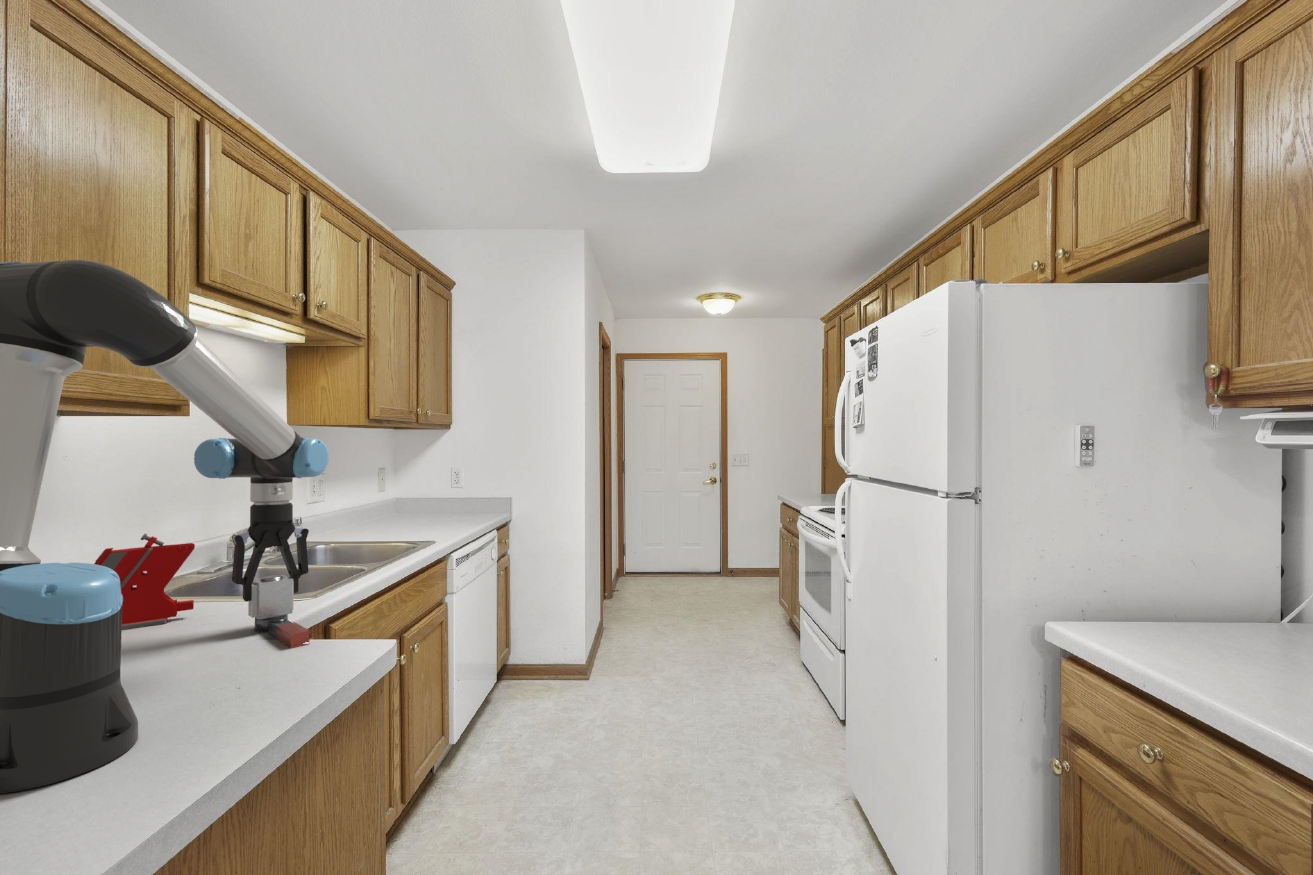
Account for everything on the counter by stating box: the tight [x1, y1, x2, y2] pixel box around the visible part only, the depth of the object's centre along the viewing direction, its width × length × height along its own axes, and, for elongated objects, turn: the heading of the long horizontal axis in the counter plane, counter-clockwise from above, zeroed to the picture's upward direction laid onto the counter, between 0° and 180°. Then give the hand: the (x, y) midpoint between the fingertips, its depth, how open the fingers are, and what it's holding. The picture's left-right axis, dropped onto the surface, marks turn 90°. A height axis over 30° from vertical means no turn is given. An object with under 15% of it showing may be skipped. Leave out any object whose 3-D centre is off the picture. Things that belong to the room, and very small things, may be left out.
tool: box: [93, 533, 196, 631], centre depth 124 cm, size 24×5×25 cm, turn 131°
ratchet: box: [254, 614, 310, 649], centre depth 118 cm, size 6×20×6 cm, turn 49°
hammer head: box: [253, 574, 293, 620], centre depth 123 cm, size 6×6×8 cm
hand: (271, 612), depth 123 cm, fingers closed on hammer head, 6 cm apart
